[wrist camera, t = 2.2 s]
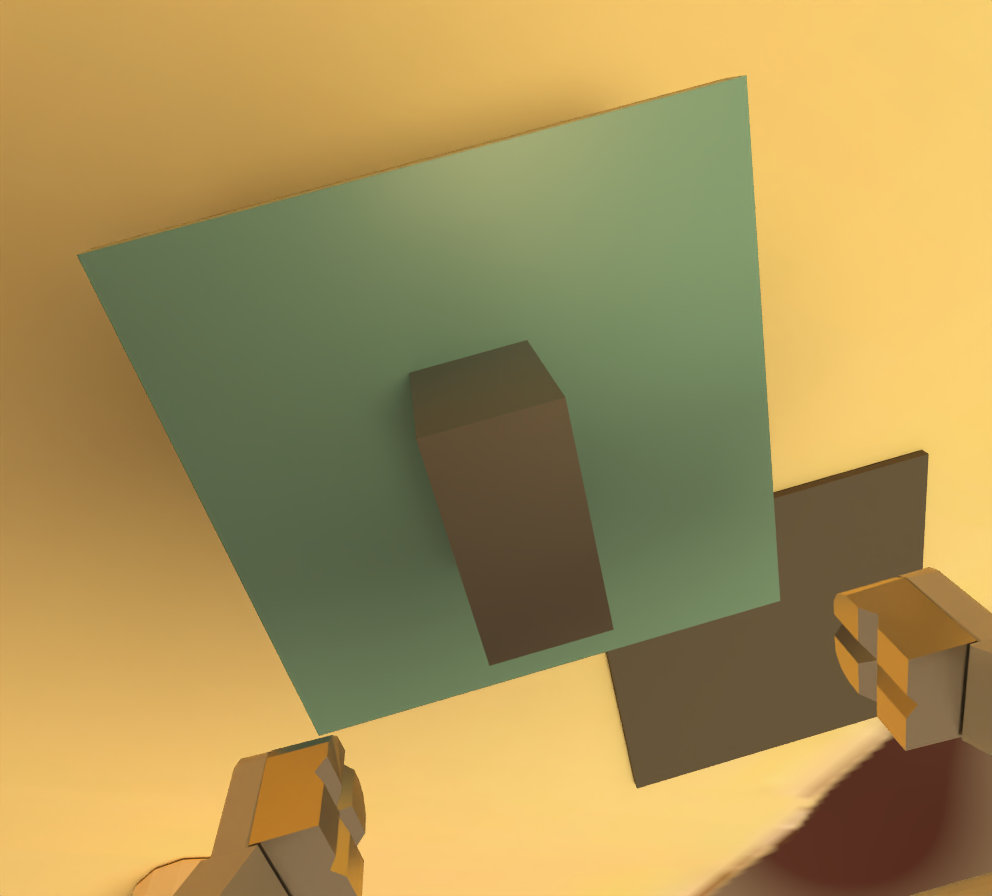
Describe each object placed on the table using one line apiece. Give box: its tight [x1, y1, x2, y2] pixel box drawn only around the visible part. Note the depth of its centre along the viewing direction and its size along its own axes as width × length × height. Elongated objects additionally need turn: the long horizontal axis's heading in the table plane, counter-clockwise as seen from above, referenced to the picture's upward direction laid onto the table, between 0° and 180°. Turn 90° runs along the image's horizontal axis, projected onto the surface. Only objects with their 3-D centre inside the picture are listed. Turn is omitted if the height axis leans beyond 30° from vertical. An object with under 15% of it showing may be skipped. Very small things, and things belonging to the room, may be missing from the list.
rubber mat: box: [606, 450, 928, 788], centre depth 34 cm, size 16×16×1 cm
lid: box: [77, 75, 780, 736], centre depth 17 cm, size 15×15×6 cm
